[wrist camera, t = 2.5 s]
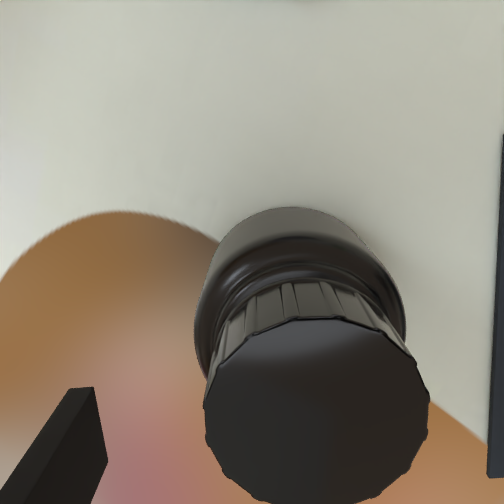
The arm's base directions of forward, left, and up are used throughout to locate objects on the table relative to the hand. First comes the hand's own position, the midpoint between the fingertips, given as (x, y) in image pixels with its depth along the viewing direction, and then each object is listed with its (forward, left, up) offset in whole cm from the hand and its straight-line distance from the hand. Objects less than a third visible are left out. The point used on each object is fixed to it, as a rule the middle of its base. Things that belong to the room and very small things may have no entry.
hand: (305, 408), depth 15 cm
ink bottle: (0, 0, -12) cm, 12 cm away
